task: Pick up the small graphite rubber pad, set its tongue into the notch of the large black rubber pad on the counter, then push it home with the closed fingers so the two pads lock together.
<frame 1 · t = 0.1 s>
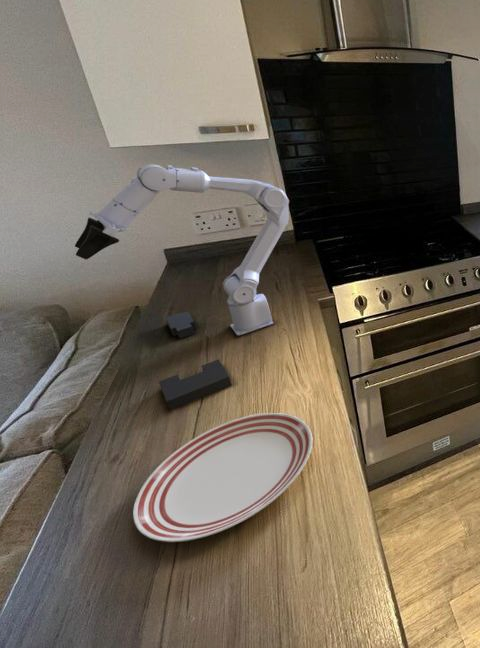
hand: (80, 252, 101), 32 cm above the table, tool tilted 50°, fingers open, 7 cm apart
dinner plate: (234, 479, 82), on the table
tongue pad: (181, 326, 130), on the table
notch pad: (197, 387, 105), on the table
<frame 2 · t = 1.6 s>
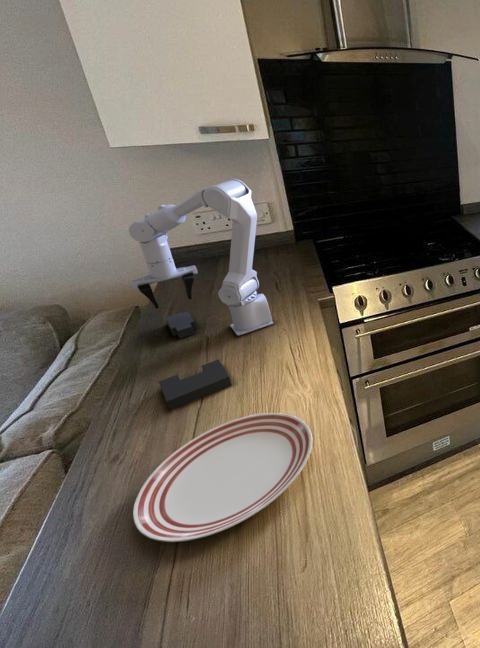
hand: (173, 302, 127), 8 cm above the table, tool pointing down, fingers open, 7 cm apart
nothing on the table moved.
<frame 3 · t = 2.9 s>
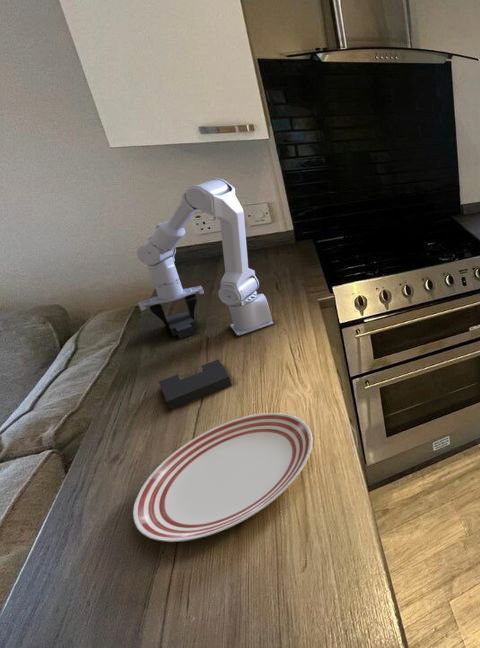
hand: (180, 322, 130), 2 cm above the table, tool pointing down, fingers closed on tongue pad, 5 cm apart
tongue pad: (181, 327, 130), on the table, touching gripper
everything else where it was.
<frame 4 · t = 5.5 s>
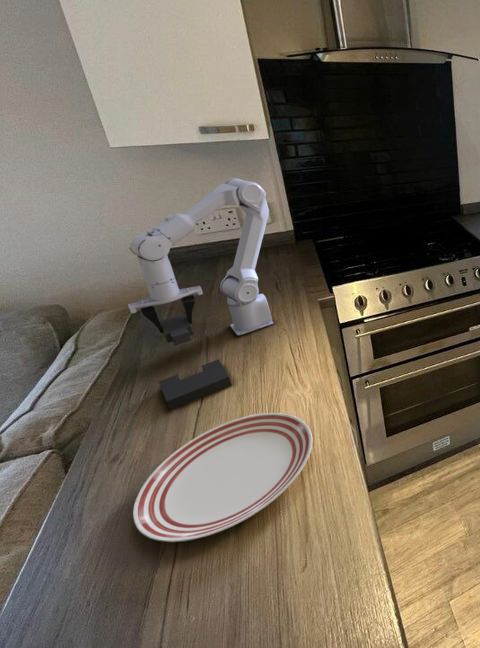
hand: (176, 326, 115), 8 cm above the table, tool pointing down, fingers closed on tongue pad, 5 cm apart
tongue pad: (177, 332, 115), point 7 cm above the table, touching gripper
everything else where it was.
when the fingers open (2 cm above the table, at t = 8.3 s): tongue pad stays where it is, on the table.
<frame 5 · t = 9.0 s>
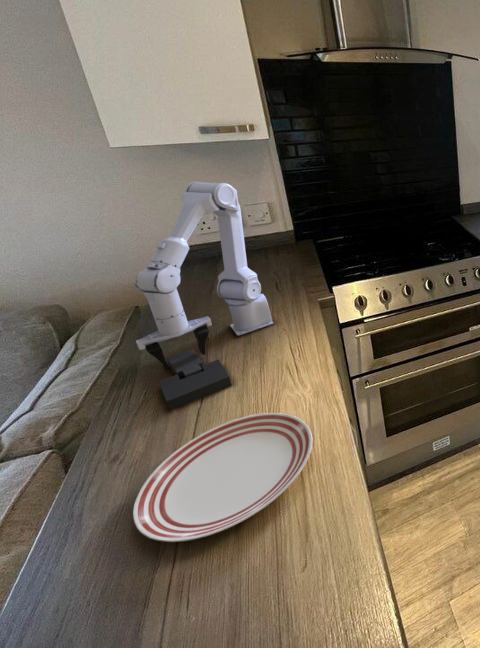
hand: (185, 360, 111), 3 cm above the table, tool pointing down, fingers open, 7 cm apart
tongue pad: (187, 368, 112), on the table
everything else where it was.
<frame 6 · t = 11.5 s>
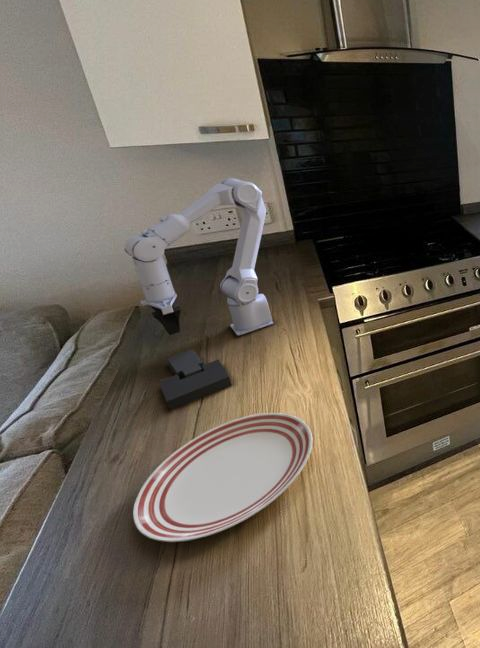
hand: (171, 327, 114), 8 cm above the table, tool pointing down, fingers open, 6 cm apart
nothing on the table moved.
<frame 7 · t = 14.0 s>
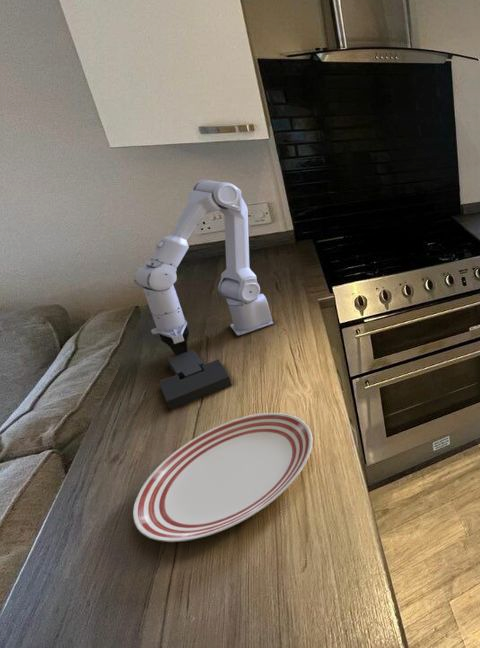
hand: (181, 355, 115), 2 cm above the table, tool pointing down, fingers closed
tongue pad: (187, 369, 112), on the table, touching gripper
everything else where it was.
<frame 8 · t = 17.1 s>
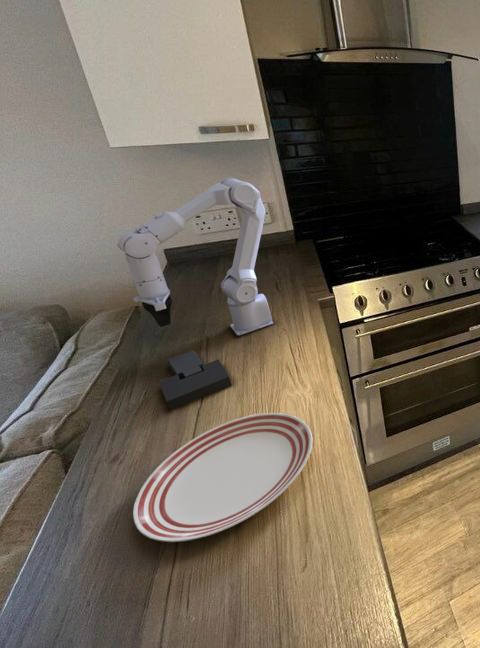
hand: (165, 324, 114), 9 cm above the table, tool pointing down, fingers closed
tongue pad: (188, 369, 111), on the table
everything else where it was.
at the end: tongue pad 0.3 cm from the target spot on the table beside the notch pad, on the table; tongue pad tilted 0° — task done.
